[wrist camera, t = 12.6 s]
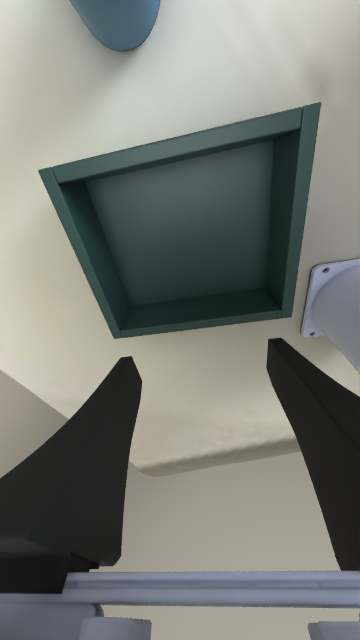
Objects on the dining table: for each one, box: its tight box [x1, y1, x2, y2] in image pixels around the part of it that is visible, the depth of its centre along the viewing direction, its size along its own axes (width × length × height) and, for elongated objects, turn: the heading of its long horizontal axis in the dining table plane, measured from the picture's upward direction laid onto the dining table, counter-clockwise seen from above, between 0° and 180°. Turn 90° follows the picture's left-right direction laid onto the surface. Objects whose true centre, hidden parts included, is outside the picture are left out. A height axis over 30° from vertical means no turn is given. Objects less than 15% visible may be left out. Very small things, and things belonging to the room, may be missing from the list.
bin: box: [38, 102, 321, 339], centre depth 16 cm, size 15×12×5 cm
